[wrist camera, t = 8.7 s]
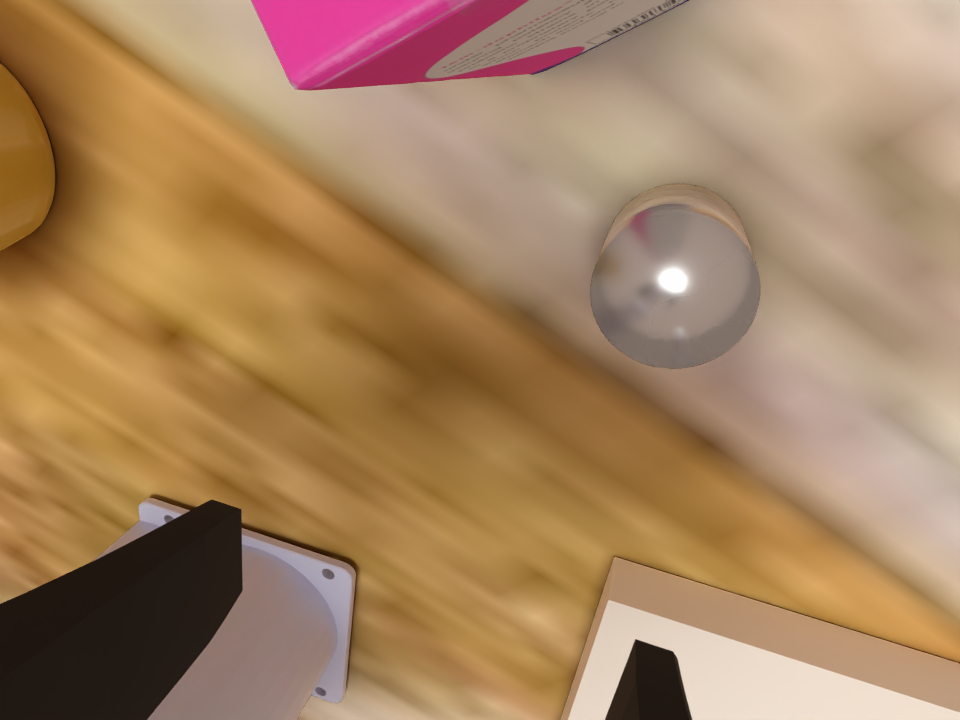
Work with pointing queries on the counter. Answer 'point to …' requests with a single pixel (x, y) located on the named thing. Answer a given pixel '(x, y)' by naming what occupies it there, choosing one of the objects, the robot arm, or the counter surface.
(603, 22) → the supplement box
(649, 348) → the short steel pin
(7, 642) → the robot arm
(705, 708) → the hole board
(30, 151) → the plant pot
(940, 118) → the counter surface
